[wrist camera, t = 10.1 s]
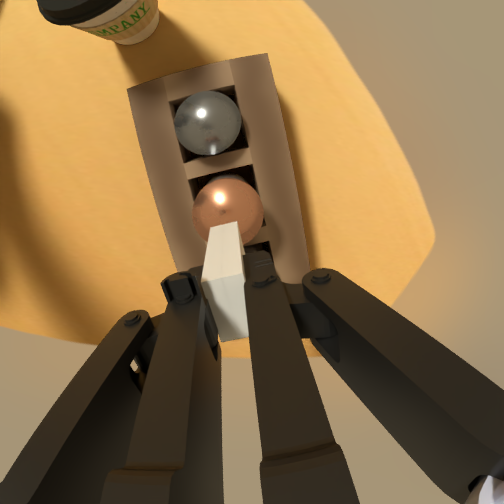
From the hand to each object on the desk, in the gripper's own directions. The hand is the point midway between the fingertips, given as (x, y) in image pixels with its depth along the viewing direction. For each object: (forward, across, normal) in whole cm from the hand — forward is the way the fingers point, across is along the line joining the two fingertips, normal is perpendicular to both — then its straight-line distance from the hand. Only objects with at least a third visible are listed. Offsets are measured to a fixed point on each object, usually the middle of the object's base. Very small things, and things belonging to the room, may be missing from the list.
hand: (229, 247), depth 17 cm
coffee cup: (+18, -6, +23) cm, 30 cm away
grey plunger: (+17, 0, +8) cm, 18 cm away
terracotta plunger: (+14, 0, 0) cm, 14 cm away
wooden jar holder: (+17, 0, 0) cm, 17 cm away
